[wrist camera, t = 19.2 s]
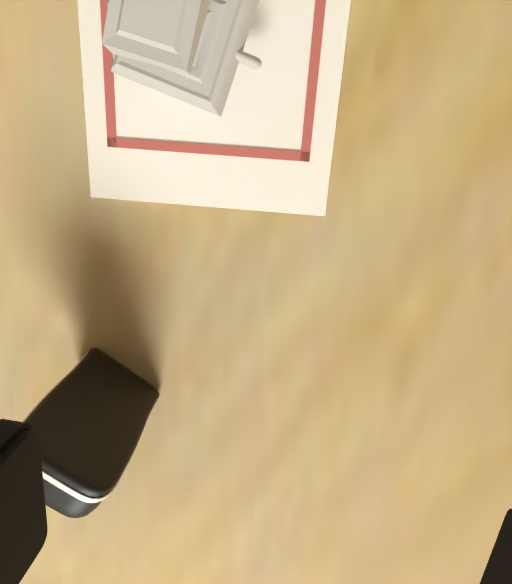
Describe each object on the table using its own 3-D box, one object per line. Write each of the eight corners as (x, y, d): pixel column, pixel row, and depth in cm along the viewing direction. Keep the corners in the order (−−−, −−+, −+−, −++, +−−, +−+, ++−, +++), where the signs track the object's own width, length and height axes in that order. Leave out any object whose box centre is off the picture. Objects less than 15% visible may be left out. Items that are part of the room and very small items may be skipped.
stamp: (109, 70, 28) (37, 52, 20) (136, -52, 26) (66, -126, 18) (245, 124, 29) (226, 126, 21) (284, 9, 26) (279, -37, 18)
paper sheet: (377, -225, 23) (378, -230, 22) (324, 215, 31) (324, 216, 30) (64, -233, 23) (60, -239, 23) (92, 196, 31) (90, 197, 31)
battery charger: (69, 374, 37) (-24, 478, 26) (92, 342, 36) (4, 437, 25) (140, 421, 38) (79, 539, 27) (164, 392, 37) (111, 504, 26)
